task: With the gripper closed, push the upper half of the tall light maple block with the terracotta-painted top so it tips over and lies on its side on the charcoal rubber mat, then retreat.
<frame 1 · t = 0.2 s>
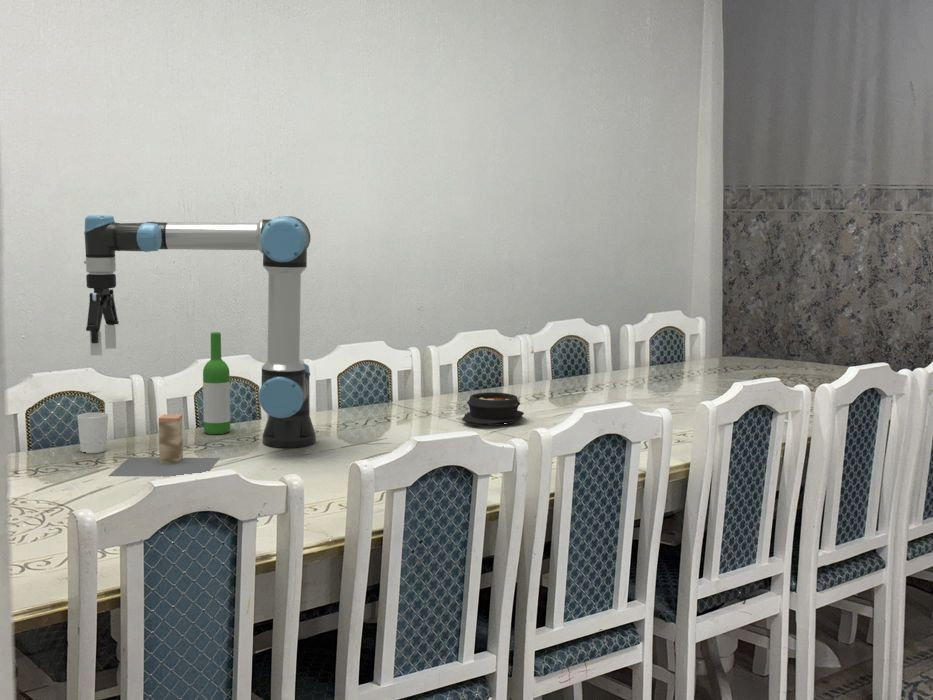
hand: (103, 351, 293), 28 cm above the table, fingers open, 13 cm apart
mat: (166, 468, 280), on the table
maple block: (171, 461, 286), resting on mat
wine bottle: (217, 433, 324), on the table
white cup: (93, 451, 297), on the table
casserole: (493, 422, 346), on the table
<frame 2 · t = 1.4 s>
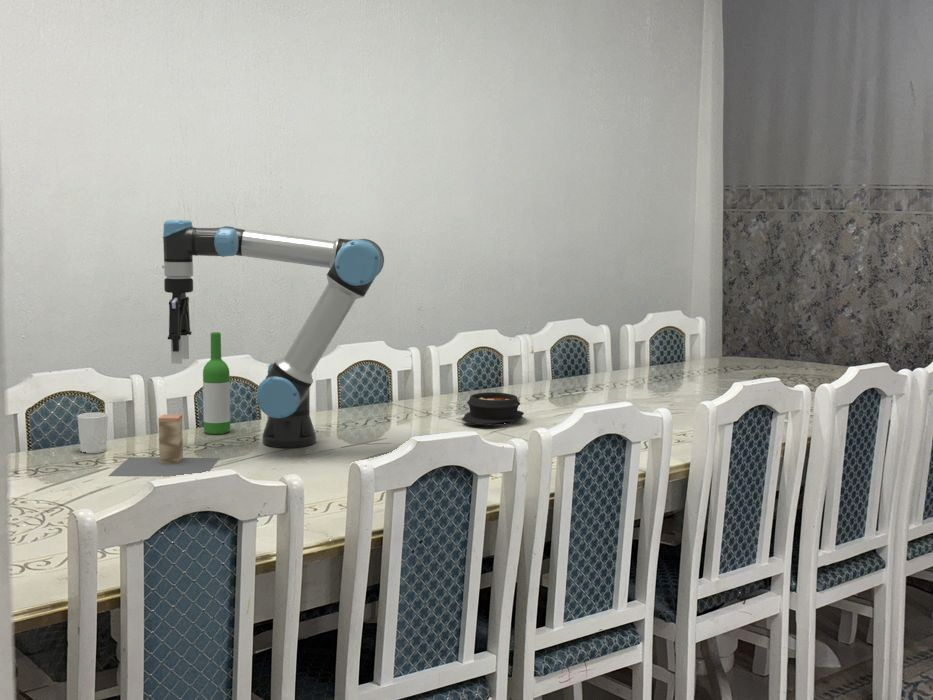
hand: (180, 360, 295), 25 cm above the table, fingers open, 8 cm apart
nothing on the table moved.
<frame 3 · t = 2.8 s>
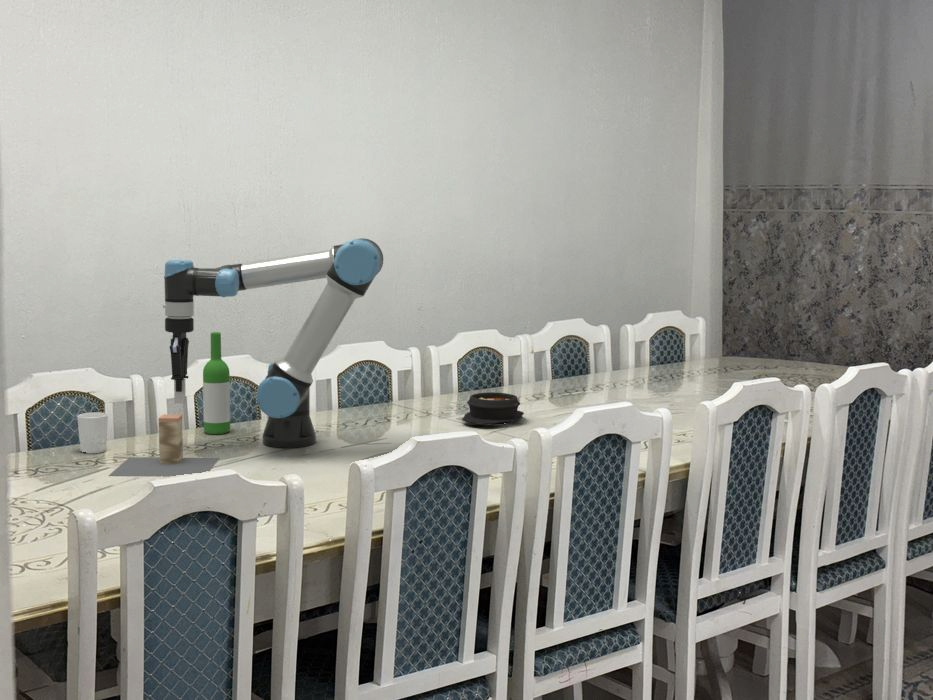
hand: (179, 402, 297), 14 cm above the table, fingers closed
nothing on the table moved.
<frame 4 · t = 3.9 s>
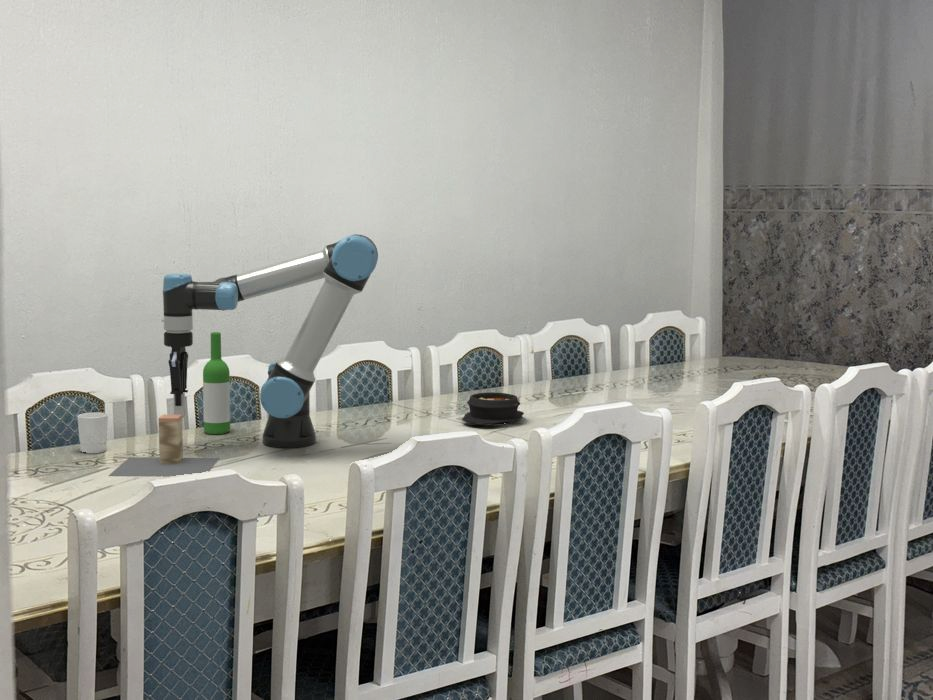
hand: (179, 416, 296), 10 cm above the table, fingers closed
nothing on the table moved.
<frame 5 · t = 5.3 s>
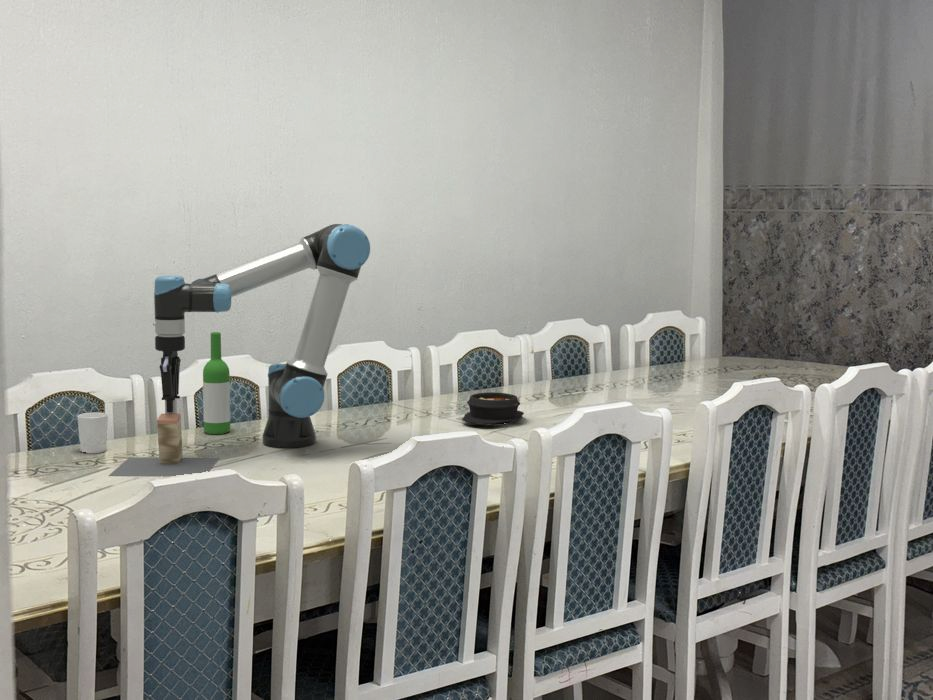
hand: (171, 423, 286), 10 cm above the table, fingers closed
maple block: (171, 459, 286), point 1 cm above the table, tilted 9°, touching gripper, mat
everything else where it was.
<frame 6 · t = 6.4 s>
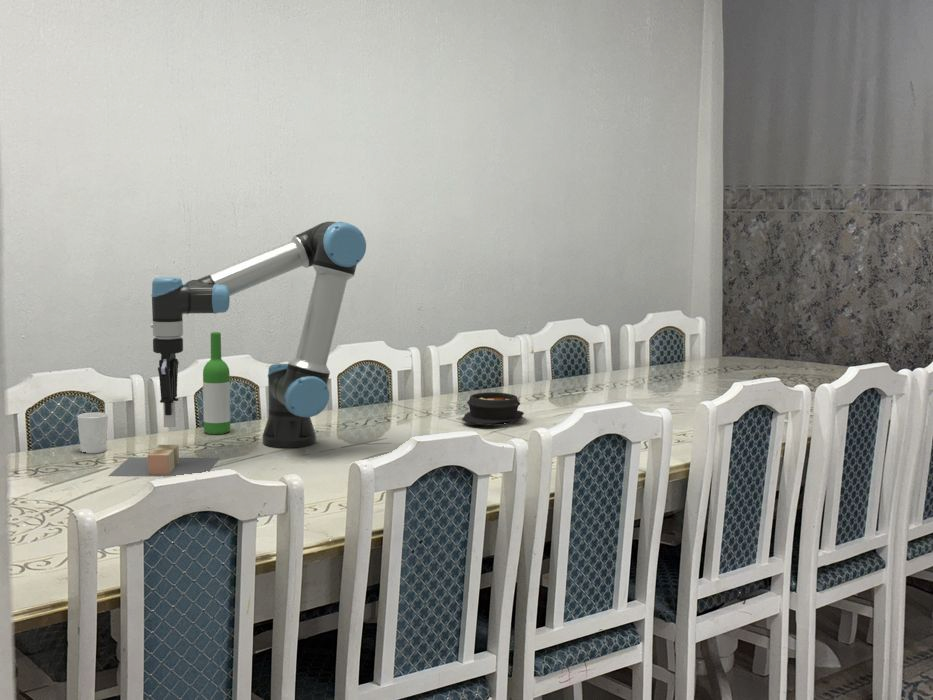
hand: (169, 426, 283), 10 cm above the table, fingers closed
maple block: (168, 454, 283), point 3 cm above the table, tilted 90°, touching mat
everything else where it was.
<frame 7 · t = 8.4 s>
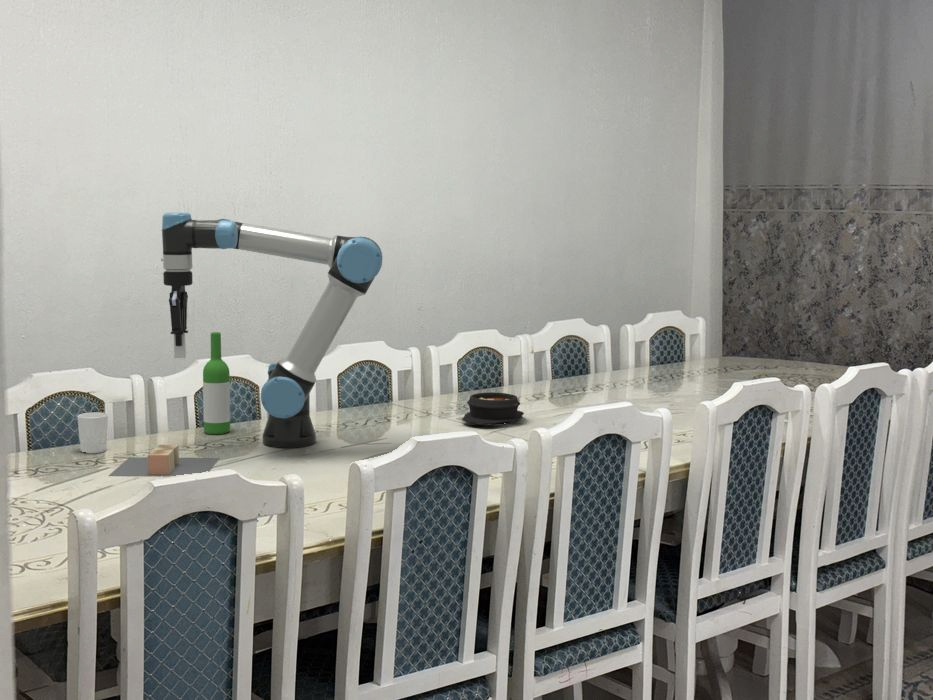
hand: (180, 357, 293), 26 cm above the table, fingers closed
nothing on the table moved.
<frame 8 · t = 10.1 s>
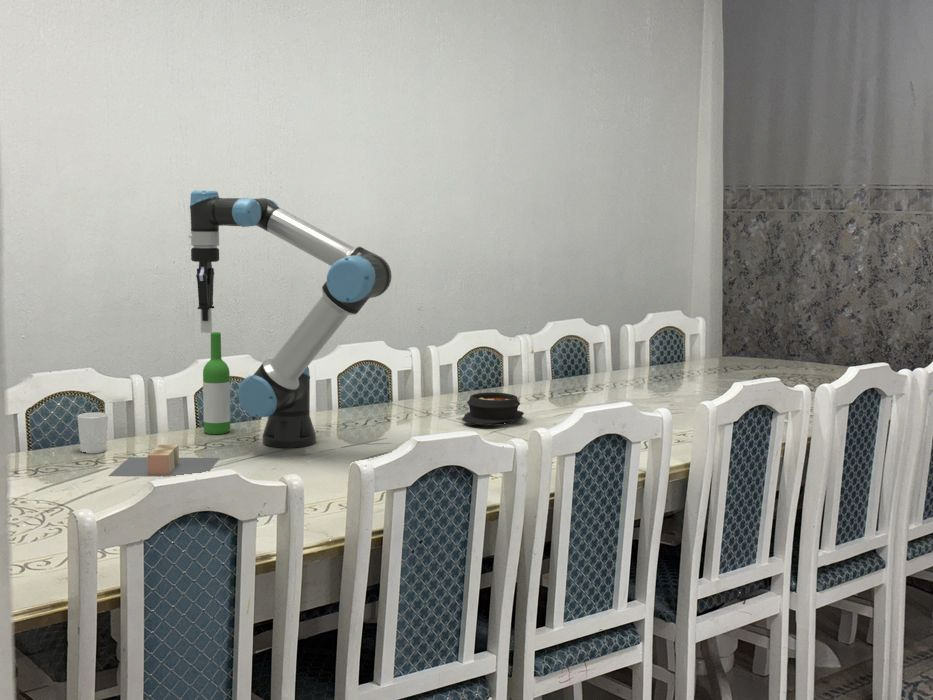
hand: (206, 332, 300), 32 cm above the table, fingers closed
nothing on the table moved.
at the end: maple block tilted 90°; maple block inside the target area (3.0 cm from its centre), point 2.9 cm above the table; maple block touching mat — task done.
